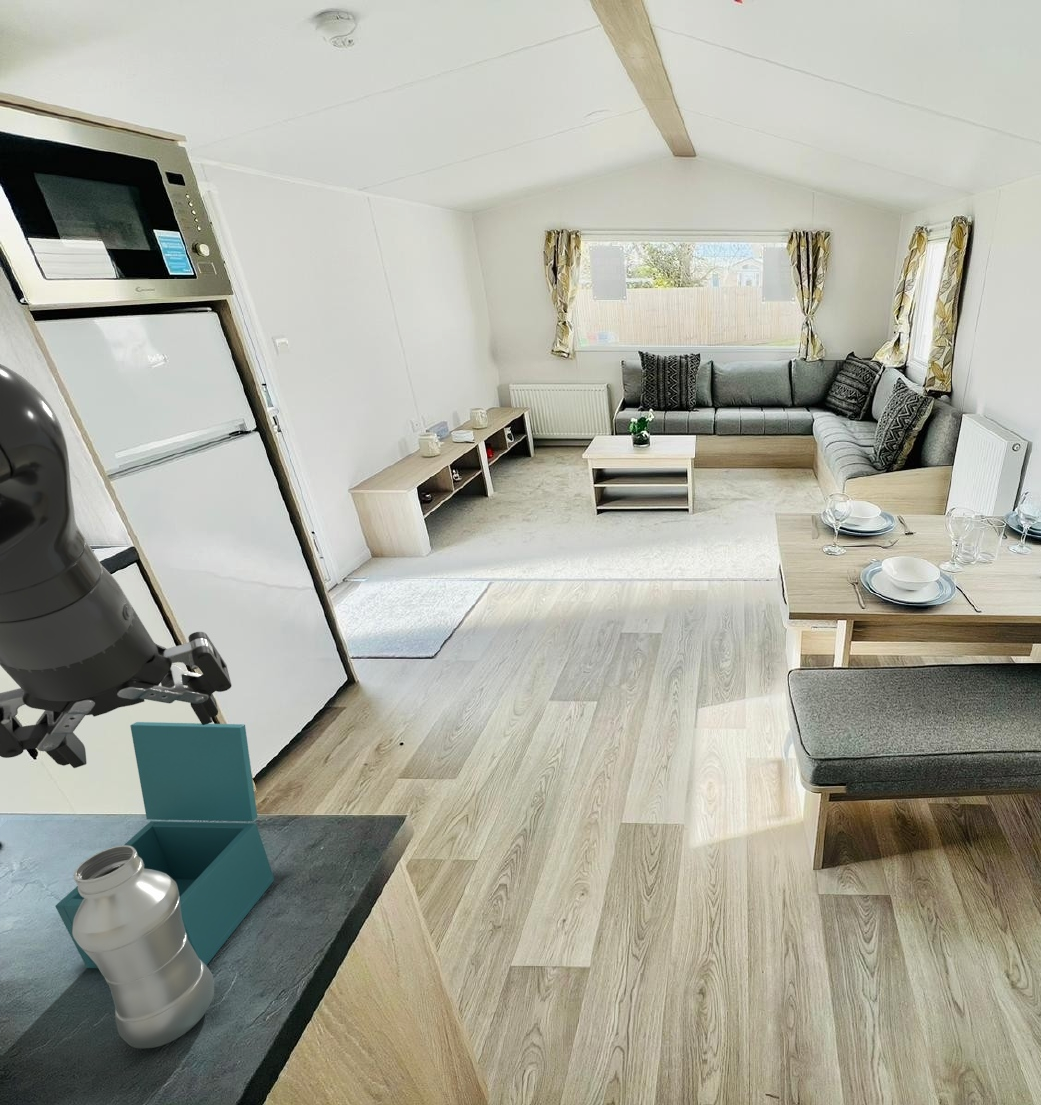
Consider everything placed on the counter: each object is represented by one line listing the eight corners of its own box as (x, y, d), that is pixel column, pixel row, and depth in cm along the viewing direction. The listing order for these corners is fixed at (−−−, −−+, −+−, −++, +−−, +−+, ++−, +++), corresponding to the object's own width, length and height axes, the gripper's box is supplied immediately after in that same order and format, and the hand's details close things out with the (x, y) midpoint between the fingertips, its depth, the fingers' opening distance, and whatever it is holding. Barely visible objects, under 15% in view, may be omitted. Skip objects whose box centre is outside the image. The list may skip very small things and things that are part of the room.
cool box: (203, 969, 63) (177, 907, 59) (86, 968, 62) (54, 905, 59) (274, 880, 72) (256, 822, 69) (174, 878, 72) (150, 820, 69)
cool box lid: (239, 727, 66) (245, 724, 67) (129, 725, 66) (136, 721, 67) (252, 821, 69) (257, 817, 69) (146, 819, 68) (152, 815, 69)
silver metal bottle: (125, 1020, 58) (46, 862, 51) (216, 971, 62) (156, 819, 55) (128, 1077, 54) (43, 914, 46) (226, 1021, 58) (162, 863, 51)
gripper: (181, 562, 50) (236, 675, 61) (-88, 618, 42) (30, 737, 53) (196, 628, 47) (251, 735, 58) (-94, 704, 39) (34, 812, 49)
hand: (145, 736), depth 55 cm, fingers open, 8 cm apart
